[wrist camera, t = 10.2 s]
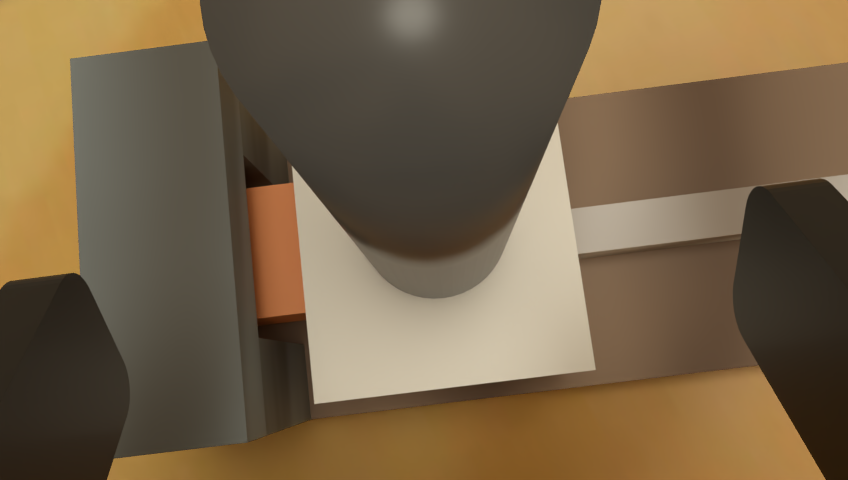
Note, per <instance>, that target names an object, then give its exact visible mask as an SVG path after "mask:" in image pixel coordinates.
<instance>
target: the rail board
mask: <svg viewBox="0 0 848 480" xmlns="http://www.w3.org/2000/svg"><path fill="white" fill-rule="evenodd" d="M70 66H71V87H72V109H73V130H74V152H75V173H76V195H77V216H78V238H79V259H80V276H81V277H82V278H83V279H84V280H85V282H86V283H87V285H88V286H89V288H90V290H91V293H92V295H93V297H94V299H95V301H96V303H97V305H98V307H99V310H100V312H101V314H102V316H103V318H104V320H105V322H106V324H107V327H108V329H109V331H110V333H111V335H112V337H113V339H114V342H115V344H116V346H117V348H118V350H119V352H120V354H121V356H122V359H123V361H124V363H125V366H126V369H127V373H128V377H129V384H130V404H129V410H128V415H127V418H126V421H125V424H124V427H123V431H122V434H121V437H120V440H119V443H118V446H117V449H116V452H115V456H114V458H122V457H131V456H139V455H147V454H155V453H164V452H172V451H180V450H189V449H197V448H205V447H214V446H222V445H230V444H239V443H247V442H250V441H253V440H256V439H258V438H261V437H264V436H267V435H269V434H272V433H275V432H277V431H280V430H283V429H286V428H288V427H291V426H294V425H297V424H299V423H302V422H305V421H308V420H310V419H317V418H326V417H334V416H342V415H350V414H359V413H367V412H375V411H384V410H392V409H400V408H408V407H417V406H425V405H433V404H442V403H450V402H458V401H466V400H475V399H483V398H491V397H500V396H508V395H516V394H524V393H533V392H541V391H549V390H558V389H566V388H574V387H583V386H591V385H599V384H607V383H616V382H624V381H632V380H641V379H649V378H657V377H665V376H674V375H682V374H690V373H699V372H707V371H715V370H723V369H732V368H740V367H748V366H757V365H758V363H757V362H756V360H755V358H754V356H753V355H752V353H751V351H750V350H749V348H748V346H747V345H746V343H745V341H744V339H743V337H742V336H741V333H740V331H739V328H738V325H737V322H736V318H735V313H734V307H733V283H734V277H735V271H736V264H737V258H738V252H739V245H740V239H741V233H742V227H743V220H744V214H745V208H746V203H747V199H748V196H749V194H750V192H751V191H752V190H753V188H755V187H757V186H765V185H772V184H780V183H788V182H796V181H803V180H811V179H819V178H821V179H825V180H827V181H829V182H830V183H831V184H832V185H833V186H834V187H835V188H836V189H837V190H838V191H839V192H840V193H841V194H842V195H843V196H844V198H845V199H846V200H847V201H848V63H840V64H832V65H824V66H816V67H809V68H801V69H793V70H785V71H777V72H769V73H762V74H754V75H746V76H738V77H730V78H723V79H715V80H707V81H699V82H691V83H683V84H676V85H668V86H660V87H652V88H644V89H636V90H629V91H621V92H613V93H605V94H597V95H589V96H582V97H574V98H568V99H567V101H566V104H565V106H564V109H563V111H562V113H561V116H560V118H559V120H558V128H559V135H560V141H561V148H562V154H563V161H564V167H565V174H566V180H567V187H568V193H569V200H570V206H571V213H572V219H573V226H574V232H575V239H576V245H577V251H578V258H579V264H580V271H581V277H582V284H583V290H584V297H585V303H586V310H587V316H588V323H589V329H590V336H591V342H592V349H593V355H594V362H595V368H596V370H592V371H583V372H575V373H567V374H559V375H550V376H542V377H534V378H526V379H517V380H509V381H501V382H492V383H484V384H476V385H468V386H459V387H451V388H443V389H435V390H426V391H418V392H410V393H402V394H393V395H385V396H377V397H368V398H360V399H352V400H344V401H335V402H327V403H319V404H314V395H313V384H312V374H311V363H310V353H309V342H308V331H307V321H306V320H302V321H293V322H285V323H277V324H269V325H261V326H258V325H257V313H256V301H255V289H254V278H253V266H252V254H251V242H250V230H249V218H248V206H247V194H246V188H254V187H262V186H270V185H278V184H286V183H293V172H292V165H291V164H290V163H289V161H288V160H287V159H286V158H285V156H284V155H283V154H282V153H281V151H280V150H279V149H278V148H277V147H276V145H275V144H274V143H273V142H272V140H271V139H270V138H269V137H268V135H267V134H266V133H265V132H264V130H263V129H262V128H261V127H260V126H259V124H258V123H257V122H256V121H255V119H254V118H253V117H252V116H251V114H250V113H249V112H248V111H247V109H246V108H245V107H244V106H243V104H242V103H241V102H240V101H239V100H238V98H237V97H236V96H235V95H234V93H233V91H232V90H231V88H230V87H229V85H228V84H227V82H226V81H225V79H224V77H223V76H222V74H221V72H220V70H219V68H218V66H217V64H216V61H215V59H214V57H213V55H212V53H211V50H210V47H209V44H208V41H203V42H196V43H188V44H180V45H173V46H165V47H157V48H150V49H142V50H134V51H127V52H119V53H111V54H104V55H96V56H88V57H81V58H73V59H70Z"/></svg>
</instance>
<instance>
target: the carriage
mask: <svg viewBox="0 0 848 480" xmlns="http://www.w3.org/2000/svg"><path fill="white" fill-rule="evenodd" d="M600 5H601V0H200V6H201V13H202V19H203V26H204V30H205V33H206V37H207V40H208V44H209V47H210V50H211V53H212V55H213V57H214V59H215V61H216V64H217V66H218V68H219V70H220V72H221V74H222V76H223V77H224V79H225V81H226V82H227V84H228V85H229V87H230V88H231V90H232V91H233V93H234V95H235V96H236V97H237V98H238V100H239V101H240V102H241V103H242V104H243V106H244V107H245V108H246V109H247V111H248V112H249V113H250V114H251V116H252V117H253V118H254V119H255V121H256V122H257V123H258V124H259V126H260V127H261V128H262V129H263V130H264V132H265V133H266V134H267V135H268V137H269V138H270V139H271V140H272V142H273V143H274V144H275V145H276V147H277V148H278V149H279V150H280V151H281V153H282V154H283V155H284V156H285V158H286V159H287V160H288V161H289V163H290V164H291V165H292V172H293V183H294V194H295V204H296V215H297V225H298V236H299V247H300V257H301V268H302V278H303V289H304V300H305V310H306V321H307V331H308V342H309V353H310V363H311V374H312V384H313V395H314V404H319V403H327V402H335V401H344V400H352V399H360V398H368V397H377V396H385V395H393V394H402V393H410V392H418V391H426V390H435V389H443V388H451V387H459V386H468V385H476V384H484V383H492V382H501V381H509V380H517V379H526V378H534V377H542V376H550V375H559V374H567V373H575V372H583V371H592V370H596V368H595V362H594V355H593V349H592V342H591V336H590V329H589V323H588V316H587V310H586V303H585V297H584V290H583V284H582V277H581V271H580V264H579V258H578V251H577V245H576V239H575V232H574V226H573V219H572V213H571V206H570V200H569V193H568V187H567V180H566V174H565V167H564V161H563V154H562V148H561V141H560V135H559V128H558V120H559V118H560V116H561V113H562V111H563V109H564V106H565V104H566V101H567V99H568V97H569V94H570V92H571V90H572V87H573V85H574V82H575V80H576V78H577V75H578V73H579V71H580V68H581V66H582V63H583V61H584V59H585V56H586V54H587V52H588V49H589V46H590V43H591V40H592V37H593V34H594V31H595V29H596V26H597V21H598V15H599V10H600Z"/></svg>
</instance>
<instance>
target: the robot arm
mask: <svg viewBox="0 0 848 480" xmlns="http://www.w3.org/2000/svg"><path fill="white" fill-rule="evenodd" d="M733 307H734V313H735V318H736V322H737V325H738V328H739V331H740V333H741V336H742V337H743V339H744V341H745V343H746V345H747V346H748V348H749V350H750V351H751V353H752V355H753V356H754V358H755V360H756V362H757V363H758V365H759V367H760V368H761V370H762V372H763V373H764V375H765V377H766V379H767V380H768V382H769V384H770V385H771V387H772V389H773V390H774V392H775V394H776V396H777V397H778V399H779V401H780V402H781V404H782V406H783V408H784V409H785V411H786V413H787V414H788V416H789V418H790V419H791V421H792V423H793V425H794V426H795V428H796V430H797V431H798V433H799V435H800V436H801V438H802V440H803V442H804V443H805V445H806V447H807V448H808V450H809V452H810V453H811V455H812V457H813V459H814V460H815V462H816V464H817V465H818V467H819V469H820V470H821V472H822V474H823V476H824V477H825V479H826V480H848V201H847V200H846V199H845V198H844V196H843V195H842V194H841V193H840V192H839V191H838V190H837V189H836V188H835V187H834V186H833V185H832V184H831V183H830V182H829V181H827V180H825V179H821V178H819V179H811V180H803V181H796V182H788V183H780V184H772V185H765V186H757V187H755V188H753V190H752V191H751V192H750V194H749V196H748V199H747V203H746V208H745V214H744V220H743V227H742V233H741V239H740V245H739V252H738V258H737V264H736V271H735V277H734V283H733ZM129 404H130V384H129V377H128V373H127V369H126V366H125V363H124V361H123V359H122V356H121V354H120V352H119V350H118V348H117V346H116V344H115V342H114V339H113V337H112V335H111V333H110V331H109V329H108V327H107V324H106V322H105V320H104V318H103V316H102V314H101V312H100V310H99V307H98V305H97V303H96V301H95V299H94V297H93V295H92V293H91V290H90V288H89V286H88V285H87V283H86V282H85V280H84V279H83V278H82V277H81V276H80V275H78V274H75V273H69V274H62V275H54V276H46V277H38V278H31V279H23V280H15V281H10V282H8V283H6V284H5V285H4V286H3V287H2V288H1V290H0V480H107V477H108V474H109V471H110V468H111V465H112V462H113V459H114V456H115V452H116V449H117V446H118V443H119V440H120V437H121V434H122V431H123V427H124V424H125V421H126V418H127V415H128V410H129Z"/></svg>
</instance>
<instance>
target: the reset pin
mask: <svg viewBox="0 0 848 480" xmlns="http://www.w3.org/2000/svg"><path fill="white" fill-rule="evenodd" d="M246 194H247V206H248V218H249V230H250V242H251V254H252V266H253V278H254V289H255V301H256V313H257V325H258V326H261V325H269V324H277V323H285V322H293V321H302V320H306V310H305V300H304V289H303V278H302V268H301V257H300V247H299V236H298V225H297V215H296V204H295V194H294V183H286V184H278V185H270V186H262V187H254V188H246Z"/></svg>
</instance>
